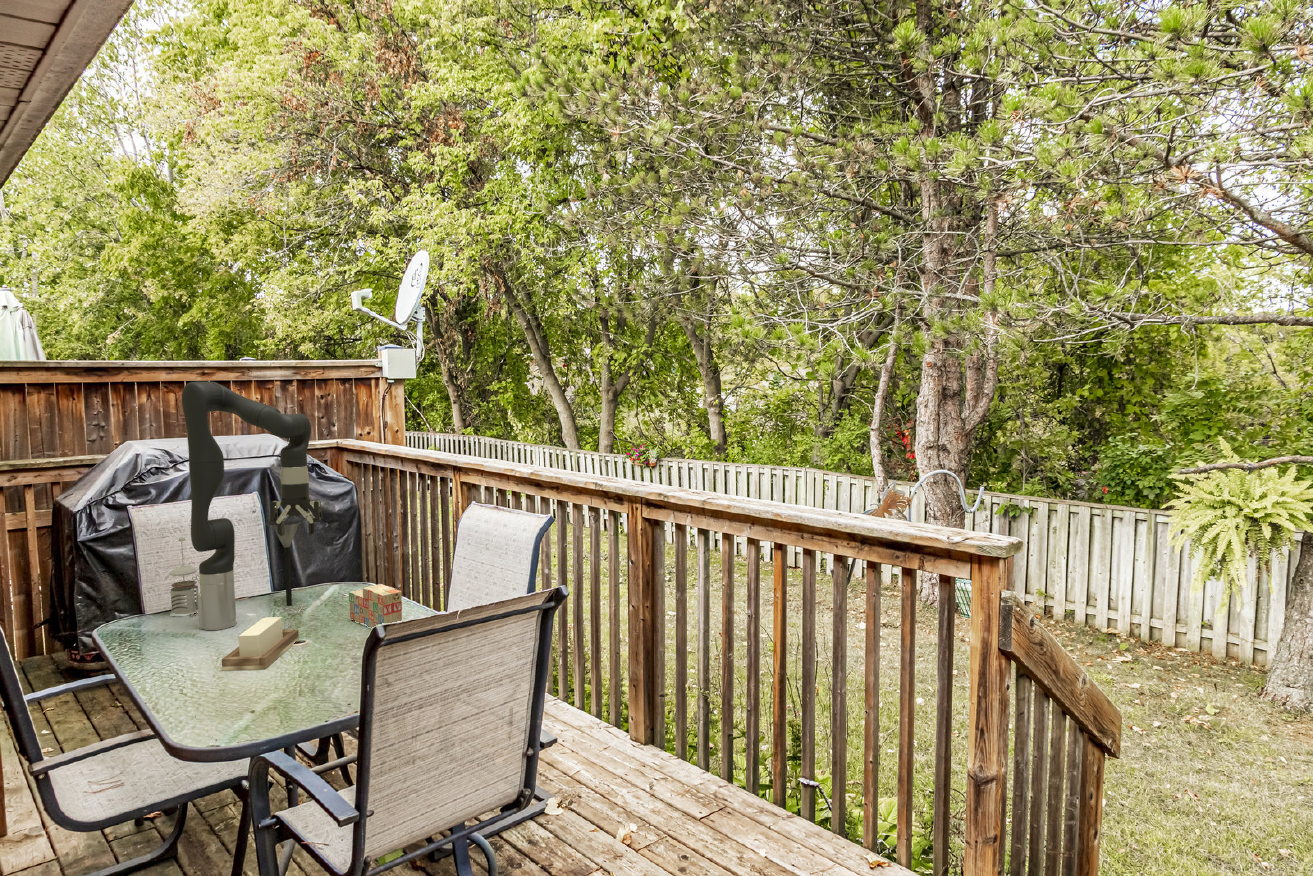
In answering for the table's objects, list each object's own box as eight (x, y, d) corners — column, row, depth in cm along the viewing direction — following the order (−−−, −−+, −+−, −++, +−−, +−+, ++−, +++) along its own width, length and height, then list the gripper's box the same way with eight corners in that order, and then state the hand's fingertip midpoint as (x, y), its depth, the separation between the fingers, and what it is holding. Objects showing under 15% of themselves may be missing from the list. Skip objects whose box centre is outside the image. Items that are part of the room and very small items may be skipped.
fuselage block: (239, 661, 210) (238, 636, 209) (264, 641, 226) (263, 617, 225) (259, 661, 210) (258, 635, 210) (282, 640, 226) (281, 617, 225)
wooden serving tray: (222, 670, 206) (221, 659, 206) (259, 641, 229) (259, 631, 229) (265, 669, 207) (265, 658, 207) (298, 639, 230) (298, 629, 230)
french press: (183, 607, 263) (179, 533, 261) (214, 608, 261) (210, 534, 259) (160, 616, 253) (156, 540, 251) (193, 618, 251) (189, 540, 249)
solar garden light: (314, 599, 271) (311, 513, 269) (300, 610, 259) (296, 520, 257) (278, 600, 271) (274, 514, 268) (262, 611, 258) (258, 520, 256)
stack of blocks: (349, 620, 248) (348, 582, 247) (368, 616, 253) (366, 578, 252) (383, 635, 234) (382, 595, 233) (403, 630, 238) (401, 590, 237)
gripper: (264, 483, 228) (266, 538, 230) (314, 483, 229) (316, 537, 230) (275, 480, 236) (277, 533, 237) (324, 479, 237) (326, 532, 238)
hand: (297, 535), depth 234 cm, fingers open, 8 cm apart
